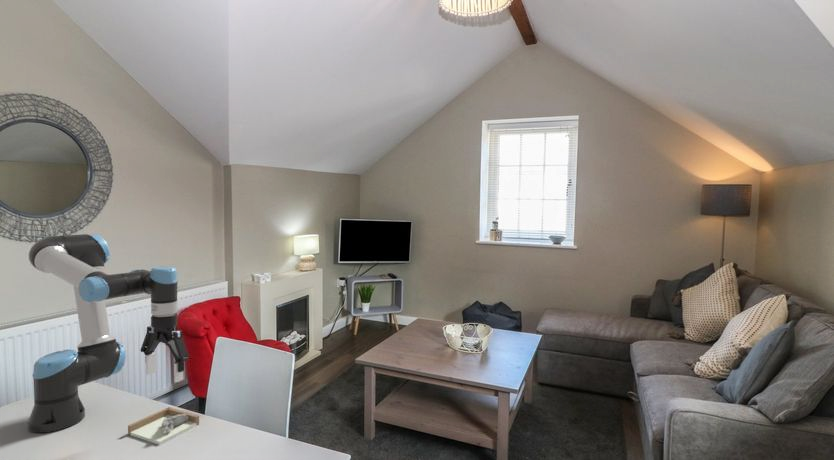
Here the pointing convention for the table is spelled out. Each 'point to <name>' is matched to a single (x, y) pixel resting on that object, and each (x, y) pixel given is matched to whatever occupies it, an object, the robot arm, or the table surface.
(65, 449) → the table surface
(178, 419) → the stone
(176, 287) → the robot arm
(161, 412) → the corner
